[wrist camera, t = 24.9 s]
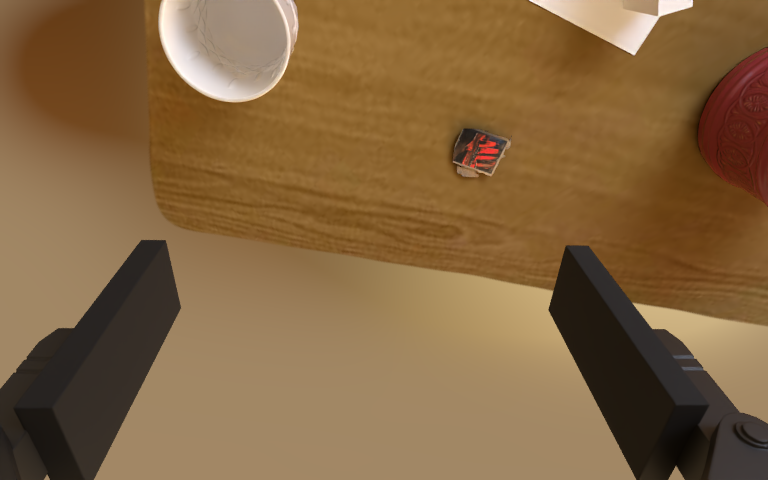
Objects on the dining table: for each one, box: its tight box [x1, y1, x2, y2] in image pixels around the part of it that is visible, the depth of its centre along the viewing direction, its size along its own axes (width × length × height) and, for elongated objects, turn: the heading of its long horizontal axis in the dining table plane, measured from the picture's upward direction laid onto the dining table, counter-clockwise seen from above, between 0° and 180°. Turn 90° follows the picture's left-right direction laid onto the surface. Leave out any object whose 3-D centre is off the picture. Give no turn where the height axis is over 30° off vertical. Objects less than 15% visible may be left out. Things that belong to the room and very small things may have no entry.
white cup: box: [158, 0, 299, 102], centre depth 34 cm, size 8×8×10 cm
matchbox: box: [453, 129, 512, 177], centre depth 44 cm, size 5×5×1 cm
